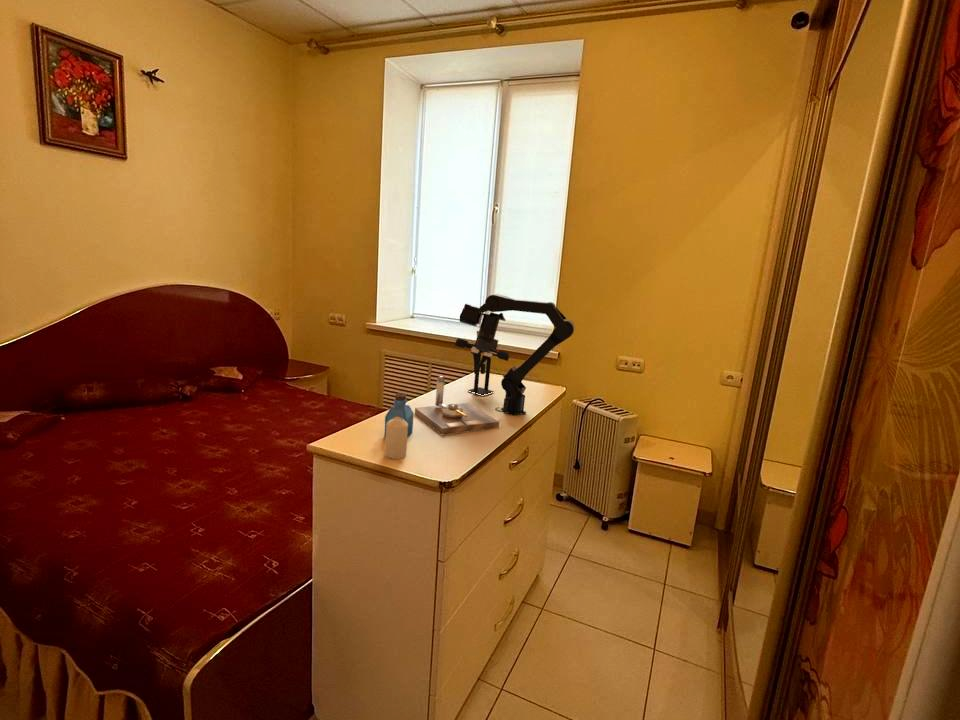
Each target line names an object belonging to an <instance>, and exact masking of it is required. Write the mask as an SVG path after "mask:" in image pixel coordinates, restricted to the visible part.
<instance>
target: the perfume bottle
mask: <svg viewBox="0 0 960 720" xmlns="http://www.w3.org/2000/svg"><path fill="white" fill-rule="evenodd" d="M394 396H395V397H394V399H393V401H394V404H393V405H392V406H391V407H390V408H389V410H388V411H387V413H386V414H385V416H384V419H385V420H384V435H383V437H384V438H386V423H387V422H388V421H390V420H391V419H393V418H395V417H400V418H401V419H404V420H405V421H406V422H407V423H408V433H407V439H408V438H409V437H410V436H411V435H412V434H413V428H414V414H415V412H414V411H413V410H412V408H411V406H410V405H409V404H407V394H405V393H395V395H394Z"/></svg>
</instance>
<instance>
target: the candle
mask: <svg viewBox="0 0 960 720" xmlns="http://www.w3.org/2000/svg"><path fill="white" fill-rule="evenodd" d="M407 433H408V423H407V422H406V421H405V420H404V419H401V418H400V417H395V418H393V419H391V420H390V421H388V422H387V423H386V437H385V443H384V456H385V457H386V458H388V459H391V458H392V459H393V460H400V459H403V458H405V457H406V456H407V447H408V438H407ZM392 459H391V460H392Z"/></svg>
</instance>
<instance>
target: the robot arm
mask: <svg viewBox="0 0 960 720" xmlns="http://www.w3.org/2000/svg"><path fill="white" fill-rule="evenodd" d="M484 301H485V302H484V303H483V304H481V305H480V306H479V307H478V306H475V305H472V304H470V303H465V304H464V306H463V308H462V309H461V310H462V311H461V313H460V314H459V323H462V324H465V325H469V326H473V327H477V326H478V325H480V327H479V330H478V331H479V333H478V336H477V335H476V339H475V341H474V342H475V345H474V343H469V341H468V340H466V339H462V338H456V339H455V343H454V346H455V347H458V348H462V349H465V348H466V349H469V350H470V352H469V353H470V354H472V357H473V374H474V375H475V374H477V372H478V371H479V369H480V370H481V366H482V365H483V364H485V362H487V359H488V358H489V359H491V360H492V357H497V358H498V359H499V360H503V361H506V362H507V361H508V362H509V360H510V359H509V358H510V353H509V352H507V351H505V350H501V349H500V350H499V349H498V350H497V347H498V346H497V345H498V343H499V340H498V339H495V338H496V334H497V329H498V327H499V323H500V321H503V322H506V318H505V316H504V313H503V312H509V311H514V312H523V313H533V314H541V315H542V314H543V315H546V316H547V318H548V319H549V321H550V322H551V324H552V325H553V326H554V327H555V328H554V329H553V330H552V332H551V333H550V335H549V336H548V337H547V338H546V340H544V342H542V344H541V345H539V346H538V348H537V349H535V351H533V352H532V354H530V355H529V356H528V357H527V358H526V359H525V360H524V361H523V362H522V363H521V364H520V365H518V366H517V367H516V366H515V365H514V364H513V365H512V366H511V367H510V369H508V371H506V372H505V373H504V374H503V375H502V380H501V381H500V383H501V388H502V389H503V390H504V392H505V397H504V398H503V407H501V410H502V412H505V413H506V414H509V415H510V416H515V415H525V414H527V411H525V410H524V409H525V401H526V400H525V398H526V394H524V393H525V391H526V389H527V387H526V385H524V383H523V382H522V381H524V379H525V378H526V376H527V374H528V373H530V372H531V371H532V370H533V369H534V368H535V366H537V365H538V364H539V363H540V362H541V361H542V360H543V359H544V358H545V357H546V356H547V355H548V354H549V353H550V352H551V351H552V350H553V349H554V348H555V347H557V346H558V345H559V344H561V343H563V342H564V341H566V340H567V339H569V338H570V337H571V336H572V335H573V334H574V331H575V330H576V328H575V327H576V325H575V323H574V322H573V320H571V319H568V318H566V316H565V315H564V313H562V312H561V310H559V309H558V307H557V305H556V304H555V303H554V302H553V301H549V302H546V301H545V302H543V301H537V300H536V301H535V300H525V299H518V298H517V299H516V298H511V297H510V296H507V295H504V294H499V293H495V294H490V295H488V296H487V297H486V299H485V300H484ZM486 312H490V313H489V314H488V313H486ZM499 312H500V313H499ZM491 349H492V350H491ZM496 350H497V351H496ZM479 351H480V352H481V353H483V354H482V355H481V360H480V363H479V365H478V367H477V362H478V356H479V354H478V352H479ZM479 372H480V371H479Z"/></svg>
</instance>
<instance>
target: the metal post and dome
mask: <svg viewBox="0 0 960 720" xmlns="http://www.w3.org/2000/svg"><path fill="white" fill-rule="evenodd" d="M444 390H445V377H444V376H443V375H439V376H438V377H437V378H436V391H435V403H434V404H435V405H434V406H439V407H441V408H442V409H443V412H442V415H443V416H444V417H447V418H461V417H462V416H464V417H467V415H466V414H464V413H463V409H462V408H461V407H458V405H456V404H457V403H449V404H445V403H444ZM447 405H448V406H447Z"/></svg>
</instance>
